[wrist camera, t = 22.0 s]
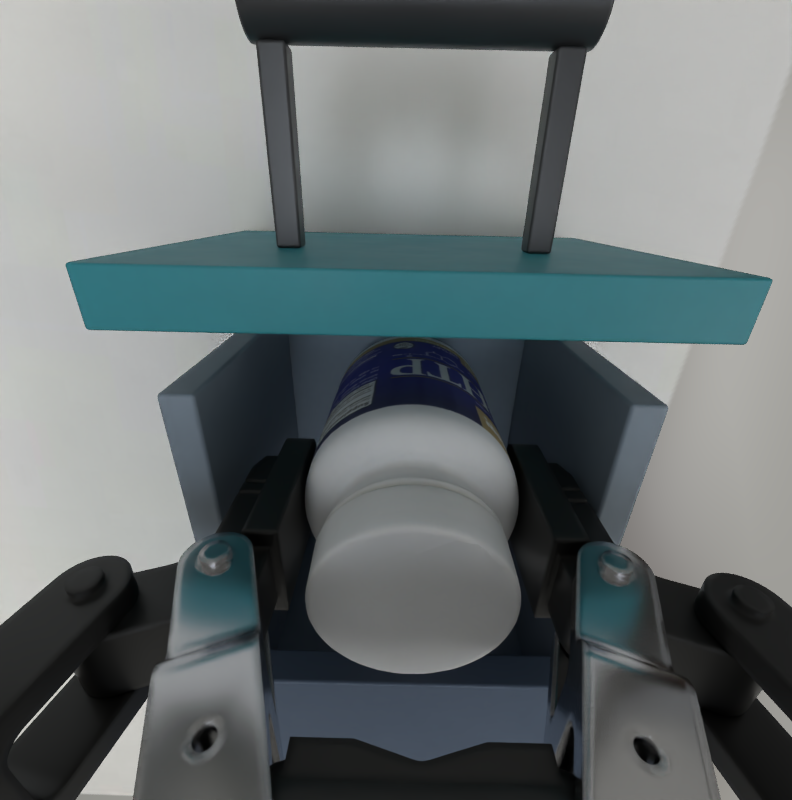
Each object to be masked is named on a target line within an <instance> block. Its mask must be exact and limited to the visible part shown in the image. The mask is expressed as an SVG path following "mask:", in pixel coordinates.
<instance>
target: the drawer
mask: <svg viewBox="0 0 792 800" xmlns="http://www.w3.org/2000/svg"><path fill="white" fill-rule="evenodd" d="M235 2H236V6H237V10H238V14H239V18H240V21H241V24H242V27H243V30H244V32H245V34H246V36H247V38H248V40H249V41H250V42H251V43H252V44H254V45H256V48H257V58H258V68H259V77H260V87H261V97H262V107H263V117H264V126H265V136H266V146H267V156H268V165H269V175H270V185H271V195H272V204H273V214H274V224H275V231H240V232H235V233H229V234H223V235H218V236H212V237H207V238H201V239H195V240H190V241H184V242H179V243H173V244H167V245H162V246H156V247H150V248H145V249H139V250H134V251H128V252H122V253H117V254H111V255H106V256H100V257H94V258H89V259H83V260H77V261H72V262H68V263H66V268H67V271H68V274H69V277H70V280H71V284H72V287H73V290H74V293H75V296H76V299H77V302H78V305H79V308H80V311H81V314H82V318H83V321H84V324H85V327H86V328H87V329H88V330H118V331H162V332H206V333H235V334H234V335H233V336H231V337H230V338H229V339H228V340H226V341H225V342H224V343H223V344H221V345H220V346H219V347H217V348H216V349H215V350H214V351H212V352H211V353H210V354H209V355H207V356H206V357H205V358H204V359H202V360H201V361H200V362H198V363H197V364H196V365H195V366H193V367H192V368H191V369H190V370H188V371H187V372H186V373H185V374H183V375H182V376H181V377H179V378H178V379H177V380H176V381H174V382H173V383H172V384H171V385H169V386H168V387H167V388H166V389H164V390H163V391H162V392H160V393H159V394H158V401H159V405H160V409H161V413H162V417H163V420H164V424H165V428H166V432H167V436H168V439H169V443H170V447H171V451H172V454H173V458H174V462H175V466H176V470H177V473H178V477H179V481H180V485H181V488H182V492H183V496H184V500H185V504H186V507H187V511H188V515H189V519H190V522H191V526H192V530H193V534H194V538H195V541H196V542H197V541H199V540H200V539H202V538H204V537H207V536H209V535H212V534H215V533H216V531H217V529H218V527H219V526H220V524H221V522H222V520H223V518H224V517H225V515H226V513H227V511H228V510H229V508H230V506H231V504H232V502H233V501H234V499H235V497H236V495H237V494H239V490H240V488H241V486H242V485H243V483H244V482H245V479H246V478H247V476H248V474H249V472H250V470H251V469H252V467H253V466H254V465H255V464H257V463H258V462H259V461H260V460H262V459H263V458H264V457H265V456H278V455H279V453H280V451H281V449H282V446H283V444H284V442H285V440H286V439H287V438H306V439H315V442H316V448H317V445H318V442H319V440H320V437H321V434H322V431H323V429H324V426H325V423H326V421H327V418H328V415H329V413H330V410H331V407H332V404H333V401H334V399H335V396H336V394H337V390H338V388H339V385H340V383H341V381H342V378H343V376H344V374H345V372H346V370H347V369H348V367H349V366H350V364H351V363H352V361H353V360H354V359H355V358H356V357H357V356H358V355H359V354H360V353H362V352H363V351H364V350H365V349H367V348H368V347H370V346H371V345H373V344H375V343H377V342H379V341H381V340H384V339H387V338H391V337H426V338H432V339H435V340H438V341H440V342H442V343H444V344H446V345H448V346H450V347H451V348H453V349H454V350H455V351H457V352H458V353H459V354H460V355H461V356H462V357H463V358H464V359H465V360H466V361H467V363H468V364H469V366H470V367H471V369H472V370H473V372H474V374H475V376H476V378H477V380H478V383H479V385H480V388H481V390H482V392H483V395H484V397H485V400H486V402H487V405H488V407H489V410H490V412H491V415H492V417H493V420H494V422H495V425H496V427H497V429H498V432H499V434H500V436H501V439H502V441H503V444H504V446H505V448H506V449H507V446H508V445H509V444H534V445H538V447H539V448H540V450H541V452H542V454H543V455H544V457H545V459H546V461H547V463H557V464H559V465H560V466H561V467H562V468H564V469H565V470H566V471H567V472H569V473H570V474H571V475H572V476H573V478H574V479H575V481H576V483H577V484H578V486H579V487H580V491H582V492H583V494H584V496H585V497H586V499H587V503H589V504H590V505H591V507H592V508H593V510H594V512H595V513H596V515H597V517H598V518H599V520H600V521H601V523H602V525H603V526H604V528H605V529H606V531H607V533H608V534H609V536H610V538H611V539H612V541H613V542H614V544H617V545H620V543H621V541H622V538H623V535H624V532H625V529H626V526H627V524H628V521H629V518H630V515H631V512H632V510H633V507H634V504H635V501H636V498H637V495H638V493H639V490H640V487H641V484H642V481H643V479H644V476H645V473H646V470H647V467H648V465H649V462H650V459H651V456H652V453H653V450H654V448H655V445H656V442H657V439H658V436H659V434H660V431H661V428H662V425H663V422H664V419H665V417H666V414H667V411H668V406H667V405H666V404H664V403H663V402H662V401H660V400H659V399H658V398H657V397H655V396H654V395H653V394H651V393H650V392H649V391H647V390H646V389H645V388H643V387H642V386H641V385H639V384H638V383H637V382H635V381H634V380H633V379H632V378H630V377H629V376H628V375H626V374H625V373H624V372H622V371H621V370H620V369H618V368H617V367H616V366H614V365H613V364H612V363H610V362H609V361H608V360H607V359H605V358H604V357H603V356H601V355H600V354H599V353H597V352H596V351H595V350H593V349H592V348H591V347H589V346H588V345H587V344H585V343H584V342H583V341H602V342H646V343H690V344H734V345H744V344H746V343H747V341H748V339H749V336H750V334H751V332H752V329H753V327H754V324H755V322H756V320H757V317H758V315H759V312H760V310H761V308H762V305H763V303H764V300H765V298H766V296H767V293H768V291H769V288H770V286H771V284H772V279H770V278H767V277H762V276H757V275H752V274H748V273H743V272H737V271H733V270H727V269H723V268H718V267H713V266H708V265H703V264H698V263H693V262H689V261H684V260H679V259H674V258H669V257H664V256H659V255H654V254H649V253H644V252H639V251H634V250H630V249H625V248H620V247H615V246H610V245H605V244H600V243H595V242H590V241H585V240H580V239H575V238H554V232H555V227H556V221H557V216H558V210H559V204H560V199H561V193H562V187H563V182H564V176H565V171H566V165H567V159H568V154H569V148H570V142H571V137H572V131H573V126H574V120H575V114H576V109H577V103H578V98H579V92H580V86H581V81H582V75H583V69H584V64H585V58H586V53H587V52H589V51H591V50H592V49H593V48H594V47H595V46H596V45H597V43H598V42H599V40H600V38H601V36H602V34H603V32H604V30H605V27H606V25H607V22H608V20H609V17H610V14H611V11H612V7H613V4H614V0H235ZM288 45H293V46H338V47H382V48H426V49H471V50H515V51H554V52H553V53H552V54H551V55H550V57H549V62H548V69H547V76H546V83H545V89H544V96H543V103H542V110H541V117H540V123H539V130H538V137H537V144H536V151H535V158H534V164H533V171H532V178H531V185H530V192H529V198H528V205H527V212H526V219H525V226H524V232H523V237H503V236H459V235H415V234H371V233H327V232H305V229H304V216H303V202H302V188H301V175H300V161H299V147H298V133H297V120H296V106H295V92H294V78H293V65H292V52H291V49H290V48H289V46H288ZM507 542H508V545H509V549H510V552H511V555H512V559H513V562H514V566H515V569H516V573H517V576H518V580H519V585H520V590H521V607H520V612H519V615H518V618H517V621H516V624H515V625H514V627H513V629H512V630H511V632H510V633H509V635H508V636H507V637H506V638H505V639H504V641H503V642H502V643H501V644H500V645H499V646H498V647H496V648H495V649H494V650H492V651H491V652H489V653H488V654H493V655H537V656H551V645H552V639H553V635H554V632H555V628H554V625H553V622H552V619H551V618H534V615H533V611H532V608H531V605H530V602H529V599H528V596H527V592H526V589H525V586H524V583H523V580H522V577H521V574H520V570H519V567H518V564H517V561H516V558H515V555H514V551H513V548H512V545H511V542H510V539H509V540H508V541H507ZM315 543H316V539H315V537H314V535H313V533H312V531H310V535H309V539H308V542H307V546H306V550H305V553H304V557H303V560H302V564H301V568H300V571H299V575H298V578H297V582H296V586H295V589H294V593H293V597H292V600H291V604H290V607H289V610H274V612H273V615H272V619H271V622H270V625H269V628H268V632H269V639H270V648H271V649H275V650H319V651H335V650H334V649H332V648H331V647H330V646H329V645H328V644H327V643H326V642H325V641H324V640H323V639H322V638H321V637H320V636H319V635H318V633H317V632H316V631H315V629H314V627H313V625H312V624H311V622H310V620H309V617H308V614H307V610H306V603H305V591H306V585H307V580H308V576H309V571H310V566H311V561H312V557H313V551H314V546H315Z"/></svg>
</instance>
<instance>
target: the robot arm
mask: <svg viewBox="0 0 792 800" xmlns="http://www.w3.org/2000/svg"><path fill="white" fill-rule="evenodd" d="M315 450H316V442H315V439H306V438H287V439H286V440H285V442H284V444H283V446H282V449H281V451H280V453H279V455H278V456H265V457H264V458H263V459H262V460H260V461H259V462H258V463H257V464H255V465H254V466H253V467H252V469H251V470H250V472H249V474H248V476H247V478H246V479H245V482H244V483H243V485H242V486H241V488H240V490H239V494H237V495H236V497H235V499H234V501H233V502H232V504H231V506H230V508H229V510H228V511H227V513H226V515H225V517H224V518H223V520H222V522H221V524H220V526H219V527H218V529H217V531H216V533H215V534H212V535H209V536H207V537H204V538H202V539H200V540H199V541H197V542H196V543H194V544H193V545H191V546H190V547H189V548H188V549H187V550H186V551H185V552H184V553H183V555H182V556H181V558H180V560H179V562H177V563H174V564H171V565H167V566H162V567H158V568H154V569H149V570H145V571H140V572H136V573H133V571H132V568H131V565H130V563H129V562H128V561H127V560H126V559H124V558H122V557H118V556H102V557H97V558H93V559H90V560H87V561H84V562H82V563H80V564H77V565H75V566H74V567H72V568H70V569H68V570H67V571H65V572H64V573H62V574H61V575H60V576H58V577H57V578H56V579H55V580H53V581H52V582H51V583H50V584H49V585H47V586H46V587H45V588H44V589H43V590H42V591H40V592H39V593H38V594H37V595H36V596H34V597H33V598H32V599H31V600H30V601H29V602H27V603H26V604H25V605H24V606H23V607H22V608H20V609H19V610H18V611H17V612H16V613H14V614H13V615H12V616H11V617H10V618H9V619H7V620H6V621H5V622H4V623H3V624H1V625H0V800H76V798H77V797H78V795H79V794H80V793H81V791H82V790H83V788H84V787H85V786H86V784H87V783H88V781H89V780H90V778H91V777H92V776H93V774H94V773H95V771H96V770H97V769H98V767H99V766H100V764H101V763H102V762H103V760H104V759H105V757H106V756H107V754H108V753H109V752H110V750H111V749H112V747H113V746H114V745H115V743H116V742H117V740H118V739H119V737H120V736H121V735H122V733H123V732H124V730H125V729H126V728H127V726H128V725H129V723H130V722H131V721H132V719H133V718H134V716H135V715H136V713H137V712H138V711H139V709H140V708H141V706H142V705H143V704H144V702H145V701H146V699H147V698H148V700H147V707H146V714H145V720H144V727H143V734H142V741H141V748H140V754H139V761H138V768H137V775H136V782H135V788H134V795H133V800H721V798H720V794H719V789H718V785H717V781H716V777H715V772H714V768H713V763H714V765H715V766H716V767H717V769H718V770H719V772H720V773H721V774H722V776H723V777H724V779H725V780H726V781H727V783H728V784H729V786H730V787H731V788H732V790H733V791H734V793H735V794H736V795H737V797H738V798H739V799H740V800H792V737H791V736H790V735H789V734H788V733H787V732H786V730H785V729H784V728H783V727H782V726H781V725H780V724H779V723H778V721H777V720H776V719H775V718H774V717H773V716H772V715H771V714H770V713H769V712H768V710H767V709H766V708H765V707H764V706H763V705H762V704H761V703H760V702H759V700H758V699H757V698H756V697H757V696H758V695H759V693H760V692H761V690H762V689H763V690H764V692H765V693H766V694H767V695H768V696H769V697H770V698H771V699H772V700H773V701H774V702H775V703H776V704H777V705H778V707H779V708H781V710H782V711H783V712H784V713H785V714H786V715H787V716H788V717H789V718H790V720H791V721H792V607H791V606H789V605H788V604H787V603H786V602H785V601H783V600H782V599H781V598H780V597H779V596H777V595H776V594H775V593H773V592H772V591H770V590H769V589H767V588H766V587H764V586H762V585H760V584H758V583H756V582H754V581H752V580H749V579H747V578H744V577H742V576H738V575H734V574H729V573H715V574H712V575H710V576H708V577H707V578H706V579H705V581H704V583H703V585H702V587H701V589H699V588H696V587H692V586H688V585H685V584H681V583H677V582H674V581H670V580H667V579H663V578H660V577H657V576H655V575H654V574H653V572H652V570H651V568H650V567H649V566H648V564H646V563H645V561H644V560H642V559H641V558H640V557H639V556H638V555H636V554H635V553H633V552H632V551H630V550H628V549H626V548H624V547H622V546H620V545H617V544H614V542H613V541H612V539H611V538H610V536H609V534H608V533H607V531H606V529H605V528H604V526H603V525H602V523H601V521H600V520H599V518H598V517H597V515H596V513H595V512H594V510H593V508H592V507H591V505H590V504H589V503H587V499H586V497H585V496H584V494H583V492H582V491H580V487H579V486H578V484H577V483H576V481H575V479H574V478H573V476H572V475H571V474H570V473H569V472H567V471H566V470H565V469H564V468H562V467H561V466H560V465H559V464H557V463H547V461H546V459H545V457H544V455H543V454H542V452H541V450H540V448H539V447H538V445H534V444H509V445H508V446H507V449H506V451H507V453H508V455H509V458H510V461H511V463H512V466H513V469H514V472H515V476H516V480H517V484H518V491H519V509H518V516H517V520H516V523H515V527H514V529H513V531H512V534H511V536H510V538H509V539H510V542H511V545H512V548H513V551H514V555H515V558H516V561H517V564H518V567H519V570H520V574H521V577H522V580H523V583H524V586H525V589H526V592H527V596H528V599H529V602H530V605H531V608H532V611H533V615H534V618H551V619H552V622H553V625H554V628H555V632H554V635H553V639H552V645H551V659H550V672H549V686H548V699H547V713H546V725H545V734H544V740H543V743H507V742H486V743H482V744H479V745H476V746H473V747H469V748H466V749H463V750H460V751H456V752H453V753H450V754H447V755H444V756H440V757H437V758H434V759H431V760H427V761H417V760H413V759H411V758H408V757H405V756H402V755H399V754H397V753H394V752H391V751H388V750H385V749H383V748H380V747H377V746H374V745H371V744H369V743H366V742H363V741H360V740H357V739H355V738H324V737H290V739H289V744H288V749H287V753H286V758H285V760H284V756H283V749H282V742H281V736H280V729H279V721H278V712H277V703H276V694H275V685H274V676H273V666H272V657H271V648H270V639H269V632H268V628H269V625H270V622H271V619H272V615H273V612H274V610H289V607H290V604H291V600H292V597H293V593H294V589H295V586H296V582H297V578H298V575H299V571H300V568H301V564H302V560H303V557H304V553H305V550H306V546H307V542H308V539H309V535H310V531H311V528H310V525H309V522H308V519H307V515H306V510H305V486H306V480H307V476H308V473H309V469H310V465H311V462H312V459H313V456H314V453H315ZM73 673H75V675H74V676H73V677H72V679H71V680H70V681H69V682H68V683H67V684H66V685H65V686H64V688H63V689H62V690H61V691H60V692H59V693H58V694H57V695H56V696H55V698H54V699H53V700H52V701H51V702H50V703H49V704H48V705H47V707H46V708H45V709H44V710H43V711H42V712H41V713H40V714H39V715H38V717H37V718H36V719H35V720H34V721H33V722H32V723H31V724H30V725H29V727H28V728H27V729H26V730H25V731H24V732H23V733H22V734H21V736H20V737H19V738H18V739H17V740H16V741H15V739H16V738H17V736H18V735H19V733H20V732H21V730H22V729H23V728H24V727H25V726H26V725H27V723H28V722H29V721H30V720H31V719H32V718H33V717H34V716H35V715H36V713H37V712H38V711H39V710H40V709H41V708H42V707H43V706H44V705H45V704H46V702H47V701H48V700H49V699H50V698H51V697H52V696H53V695H54V694H55V692H56V691H57V690H58V689H59V688H60V687H61V686H62V685H63V684H64V682H65V681H66V680H67V679H68V678H69V677H70V676H71V675H72V674H73ZM14 741H15V742H14ZM712 762H713V763H712Z"/></svg>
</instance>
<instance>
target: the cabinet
mask: <svg viewBox="0 0 792 800" xmlns="http://www.w3.org/2000/svg"><path fill="white" fill-rule="evenodd" d="M271 657H272V666H273V676H274V685H275V694H276V703H277V712H278V721H279V729H280V736H281V742H282V749H283V756H284V760H285V758H286V753H287V749H288V744H289V739H290V737H324V738H355V739H357V740H360V741H363V742H366V743H369V744H371V745H374V746H377V747H380V748H383V749H385V750H388V751H391V752H394V753H397V754H399V755H402V756H405V757H408V758H411V759H413V760H417V761H427V760H431V759H434V758H437V757H440V756H444V755H447V754H450V753H453V752H456V751H460V750H463V749H466V748H469V747H473V746H476V745H479V744H482V743H486V742H507V743H543V740H544V734H545V725H546V713H547V699H548V686H549V672H550V659H551V656H537V655H493V654H486V655H485V656H483V657H482V658H480V659H478V660H475V661H473V662H471V663H469V664H466V665H464V666H461V667H458V668H454V669H451V670H446V671H440V672H435V673H427V674H401V673H392V672H387V671H381V670H377V669H373V668H370V667H367V666H364V665H361V664H359V663H356V662H354V661H352V660H350V659H348V658H346V657H345V656H343V655H341V654H340V653H338V652H337V651H319V650H275V649H271Z"/></svg>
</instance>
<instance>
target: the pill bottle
mask: <svg viewBox="0 0 792 800" xmlns="http://www.w3.org/2000/svg"><path fill="white" fill-rule="evenodd" d="M518 509H519V491H518V484H517V480H516V476H515V472H514V469H513V466H512V463H511V461H510V458H509V455H508V453H507V451H506V448H505V446H504V444H503V441H502V439H501V436H500V434H499V432H498V429H497V427H496V425H495V422H494V420H493V417H492V415H491V412H490V410H489V407H488V405H487V402H486V400H485V397H484V395H483V392H482V390H481V388H480V385H479V383H478V380H477V378H476V376H475V374H474V372H473V370H472V369H471V367H470V366H469V364H468V363H467V361H466V360H465V359H464V358H463V357H462V356H461V355H460V354H459V353H458V352H457V351H455V350H454V349H453V348H451V347H450V346H448V345H446V344H444V343H442V342H440V341H438V340H435V339H432V338H426V337H391V338H387V339H384V340H381V341H379V342H377V343H375V344H373V345H371V346H370V347H368V348H367V349H365V350H364V351H363V352H362V353H360V354H359V355H358V356H357V357H356V358H355V359H354V360H353V361H352V363H351V364H350V366H349V367H348V369H347V370H346V372H345V374H344V376H343V378H342V381H341V383H340V385H339V388H338V390H337V394H336V396H335V399H334V401H333V404H332V407H331V410H330V413H329V415H328V418H327V421H326V423H325V426H324V429H323V431H322V434H321V437H320V440H319V442H318V445H317V448H316V450H315V453H314V456H313V459H312V462H311V465H310V469H309V473H308V476H307V480H306V486H305V510H306V515H307V519H308V522H309V525H310V528H311V531H312V533H313V535H314V537H315V539H316V543H315V546H314V551H313V557H312V561H311V566H310V571H309V576H308V580H307V585H306V591H305V603H306V610H307V614H308V617H309V620H310V622H311V624H312V625H313V627H314V629H315V631H316V632H317V633H318V635H319V636H320V637H321V638H322V639H323V640H324V641H325V642H326V643H327V644H328V645H329V646H330V647H331V648H332V649H334V650H335V651H337V652H338V653H340V654H341V655H343V656H345V657H346V658H348V659H350V660H352V661H354V662H356V663H359V664H361V665H364V666H367V667H370V668H373V669H377V670H381V671H387V672H392V673H401V674H427V673H435V672H440V671H446V670H451V669H454V668H458V667H461V666H464V665H466V664H469V663H471V662H473V661H475V660H478V659H480V658H482V657H483V656H485V655H486V654H488V653H489V652H491V651H492V650H494V649H495V648H496V647H498V646H499V645H500V644H501V643H502V642H503V641H504V639H505V638H506V637H507V636H508V635H509V633H510V632H511V630H512V629H513V627H514V625H515V624H516V621H517V618H518V615H519V612H520V607H521V590H520V585H519V580H518V576H517V573H516V569H515V566H514V562H513V559H512V555H511V552H510V549H509V545H508V542H507V541H508V540H509V538H510V536H511V534H512V531H513V529H514V527H515V523H516V520H517V516H518Z"/></svg>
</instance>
